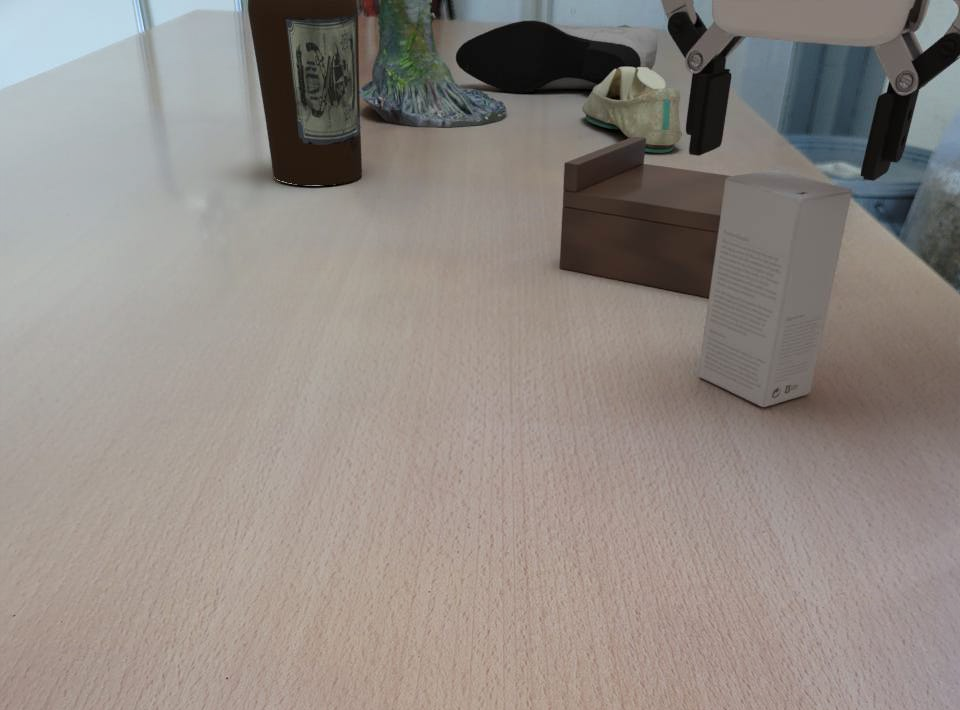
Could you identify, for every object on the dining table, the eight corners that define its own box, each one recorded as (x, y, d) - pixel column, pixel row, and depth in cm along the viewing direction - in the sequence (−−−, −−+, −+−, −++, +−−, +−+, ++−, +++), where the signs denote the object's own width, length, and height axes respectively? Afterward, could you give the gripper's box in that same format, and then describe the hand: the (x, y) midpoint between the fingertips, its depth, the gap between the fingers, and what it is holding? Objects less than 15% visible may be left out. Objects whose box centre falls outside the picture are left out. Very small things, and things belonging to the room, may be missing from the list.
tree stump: (452, 138, 125) (415, -31, 116) (342, 159, 137) (301, 8, 128) (534, 108, 136) (506, -48, 127) (425, 130, 148) (393, -11, 139)
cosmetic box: (812, 395, 62) (857, 188, 55) (762, 410, 60) (801, 199, 53) (743, 363, 66) (776, 166, 59) (694, 376, 64) (722, 175, 57)
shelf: (798, 264, 83) (818, 159, 78) (744, 305, 75) (763, 191, 70) (625, 234, 90) (633, 136, 85) (559, 268, 82) (564, 162, 77)
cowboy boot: (641, 36, 139) (672, 19, 158) (455, 10, 144) (507, -3, 163) (629, 112, 145) (661, 87, 163) (451, 83, 150) (502, 63, 169)
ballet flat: (627, 114, 135) (632, 49, 131) (705, 153, 117) (715, 78, 112) (569, 117, 134) (572, 51, 129) (639, 156, 115) (646, 81, 110)
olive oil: (252, 173, 108) (215, -117, 93) (339, 161, 113) (318, -117, 97) (294, 194, 101) (261, -117, 86) (386, 180, 106) (370, -117, 90)
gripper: (1086, -251, 44) (965, 173, 54) (715, -237, 51) (670, 133, 61) (1059, -272, 38) (931, 200, 49) (651, -253, 46) (615, 153, 56)
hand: (786, 163), depth 55 cm, fingers open, 9 cm apart
